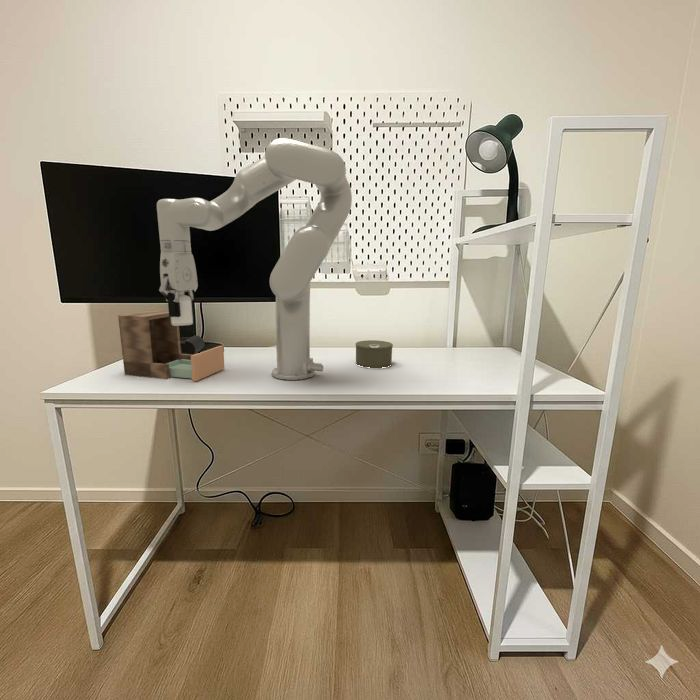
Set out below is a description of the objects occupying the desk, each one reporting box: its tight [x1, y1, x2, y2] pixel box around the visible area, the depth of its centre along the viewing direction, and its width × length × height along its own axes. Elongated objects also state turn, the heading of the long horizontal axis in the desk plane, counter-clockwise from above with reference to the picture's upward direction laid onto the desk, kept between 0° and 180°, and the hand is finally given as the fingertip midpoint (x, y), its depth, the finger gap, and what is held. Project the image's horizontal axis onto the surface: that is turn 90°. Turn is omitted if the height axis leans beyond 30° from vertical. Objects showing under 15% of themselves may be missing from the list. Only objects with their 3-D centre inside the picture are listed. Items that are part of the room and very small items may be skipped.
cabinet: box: [117, 309, 192, 380], centre depth 114 cm, size 14×13×17 cm
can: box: [355, 340, 394, 368], centre depth 126 cm, size 12×12×7 cm
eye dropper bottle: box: [171, 291, 194, 327], centre depth 108 cm, size 4×6×12 cm
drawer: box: [166, 345, 226, 382], centre depth 112 cm, size 14×14×7 cm
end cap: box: [180, 334, 206, 355], centre depth 133 cm, size 10×7×7 cm
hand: (181, 314), depth 109 cm, fingers closed on eye dropper bottle, 5 cm apart
